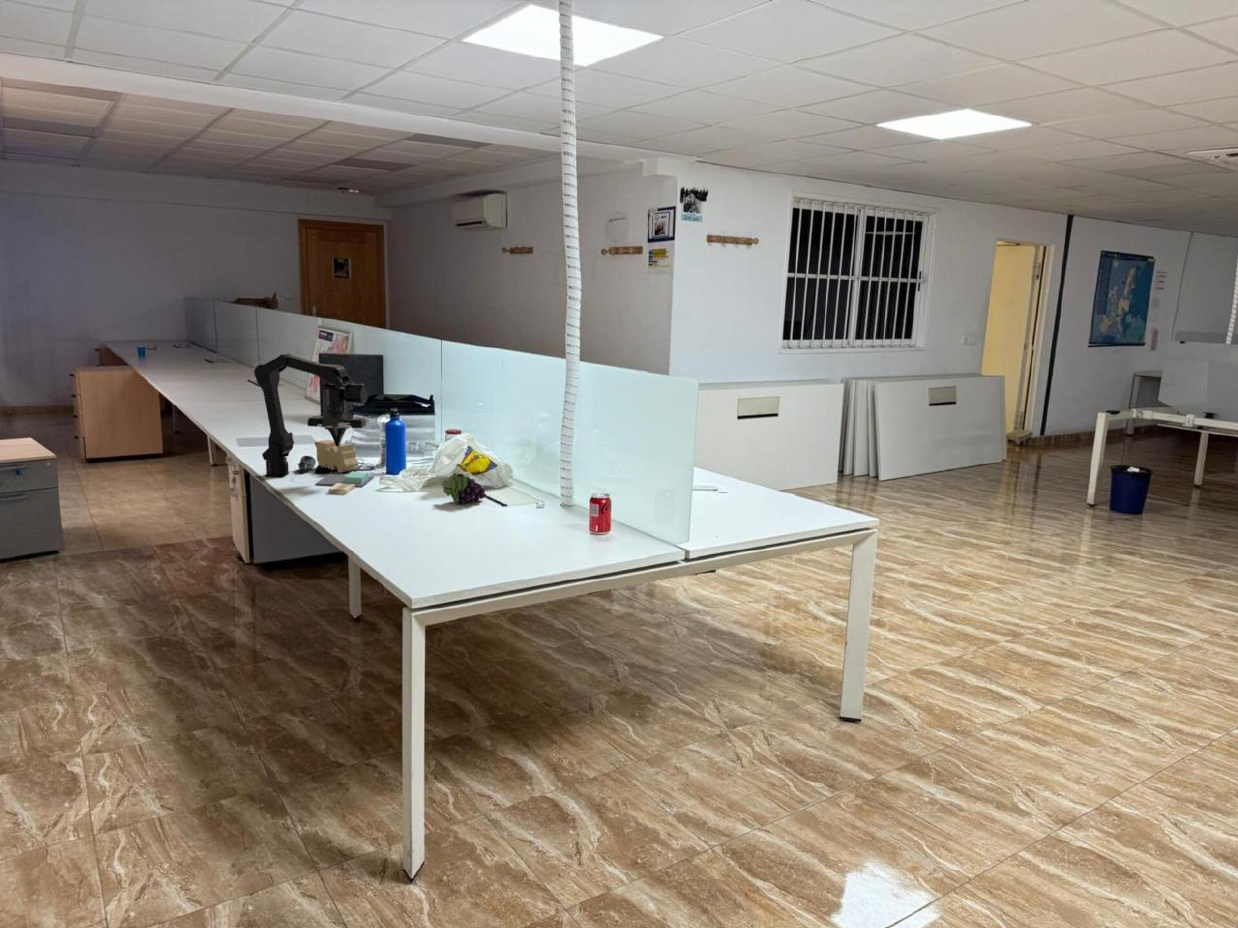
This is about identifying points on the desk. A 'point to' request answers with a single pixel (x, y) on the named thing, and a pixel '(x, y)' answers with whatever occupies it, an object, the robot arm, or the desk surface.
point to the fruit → (463, 489)
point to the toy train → (336, 456)
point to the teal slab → (356, 477)
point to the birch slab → (341, 488)
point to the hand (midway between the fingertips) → (337, 446)
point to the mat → (340, 480)
